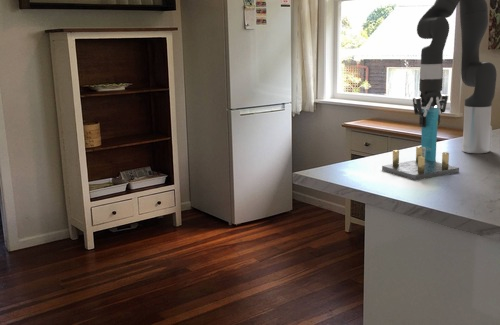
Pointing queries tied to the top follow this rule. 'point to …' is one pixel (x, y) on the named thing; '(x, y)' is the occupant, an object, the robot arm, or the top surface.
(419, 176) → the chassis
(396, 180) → the top surface
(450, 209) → the top surface
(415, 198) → the top surface
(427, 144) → the tube
